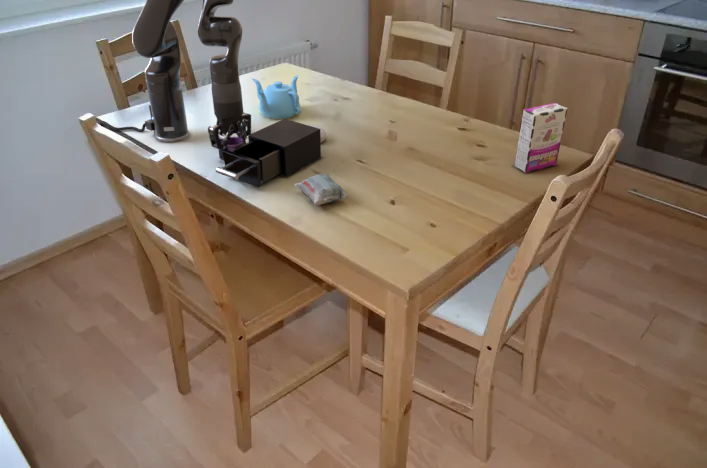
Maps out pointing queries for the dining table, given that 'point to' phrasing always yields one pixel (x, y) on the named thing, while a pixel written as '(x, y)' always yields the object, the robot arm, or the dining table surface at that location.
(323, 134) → the donut
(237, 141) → the cup
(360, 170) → the dining table surface
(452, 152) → the dining table surface
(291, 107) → the teapot
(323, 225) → the dining table surface
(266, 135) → the cabinet
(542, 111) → the candy bar box
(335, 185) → the packaged food
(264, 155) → the drawer
